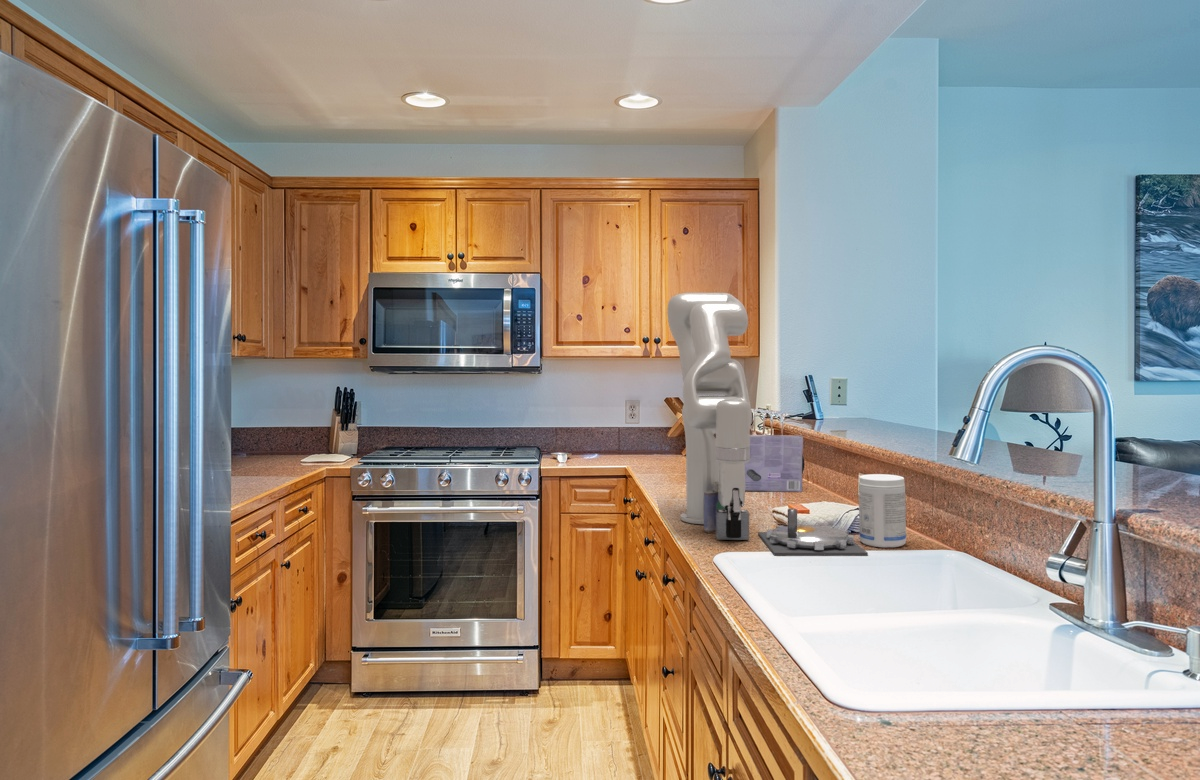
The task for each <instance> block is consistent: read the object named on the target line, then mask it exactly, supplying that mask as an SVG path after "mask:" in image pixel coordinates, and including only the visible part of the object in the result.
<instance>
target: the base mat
mask: <svg viewBox="0 0 1200 780" xmlns="http://www.w3.org/2000/svg"><path fill="white" fill-rule="evenodd" d="M757 535H758V536H759V537H760V539H761V540H762V541H763V543H764V544H765V546H766V547H767V548H768V549H769V551H770V552H771V553H772V554H773V556H774V557H775V556H776V557H777V556H779V557H781V556H783V557H785V556H789V557H790V556H795V557H796V556H799V557H803V556H805V557H806V556H810V557H812V556H813V557H814V556H815V557H817V556H818V557H819V556H822V557H823V556H825V557H826V556H827V557H828V556H831V557H832V556H835V557H838V556H840V557H841V556H842V557H843V556H845V557H846V556H848V557H850V556H853V557H857V556H861V557H862V556H866V557H867V556H868V555H869V553H868V552H867V551H866V550H865V549H864V548H862V547H861V546H860V545H858V544H857V543H856V542H855V541H854V543H853V544H850V543H847V544H846V548H841V549H840V548H836V547H835V548H824V550H814V548H800V547H797V548H790V547H787V545H784V544H780V543H772V542H770V537H767V531H758V532H757Z"/></svg>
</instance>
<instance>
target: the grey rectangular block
mask: <svg viewBox="0 0 1200 780" xmlns="http://www.w3.org/2000/svg"><path fill="white" fill-rule="evenodd" d="M726 520H728V510H725V509H720V510H716V532H715V537H716V539H717V540H719V541H722V540H723V541H727V540H729V541H749V540H750V512H749V511H748V510H747V509H742V508H741V538H727V536H726Z"/></svg>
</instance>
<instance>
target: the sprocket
mask: <svg viewBox="0 0 1200 780" xmlns="http://www.w3.org/2000/svg"><path fill="white" fill-rule="evenodd" d="M766 532H767V537H770V542H772V543H780V544H784V545H787V547H790V548H797V547H800V548H814V550H824V548H835V547H836V548H840V549H841V548H846V544H847V543H850V544H853V543H854V542H855V538H854V537H855V535H852V534H850V531H849V530H846V529H837V528H835V527H834V528H833V527H831V526H829V525H828V526H827V525H821V526H820V525H806V524H805V523H803V524H800V523H798V509H797V508H787V525H782V524H781V525H776V526H775V528H774V529H770V528H769V529H767V530H766Z"/></svg>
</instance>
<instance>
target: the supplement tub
mask: <svg viewBox="0 0 1200 780" xmlns="http://www.w3.org/2000/svg"><path fill="white" fill-rule="evenodd" d="M858 480H859V481H858V508H859V509H858V513H859V514H858V518H859V519H858V520H859V521H858V522H859V523H858V524H859V540H860V542H861V543H863V544H864V545H867V546H870V547H876V548H893V549H894V548H899V547H902V546H904V545H905V544H906V541H907V520H906V519H907V515H906V513H907V512H906V511H907V509H906V483H905V477H903V476H901V475H897V474H889V473H888V474H886V473H885V474H884V473H883V474H882V473H872V474H862V475H860V476H859V479H858Z"/></svg>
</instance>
